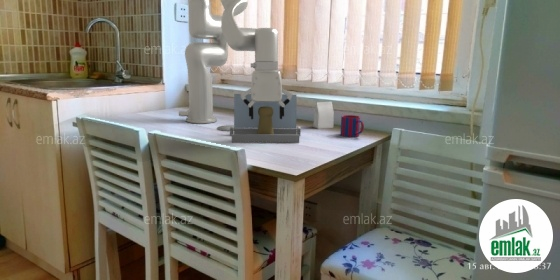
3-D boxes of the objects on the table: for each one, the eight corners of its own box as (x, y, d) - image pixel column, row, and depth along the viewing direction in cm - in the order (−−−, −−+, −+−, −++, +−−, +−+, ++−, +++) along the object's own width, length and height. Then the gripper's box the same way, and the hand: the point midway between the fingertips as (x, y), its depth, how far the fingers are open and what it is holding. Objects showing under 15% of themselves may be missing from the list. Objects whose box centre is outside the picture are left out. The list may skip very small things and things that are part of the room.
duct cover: (234, 127, 146) (234, 127, 147) (296, 128, 147) (296, 128, 148) (234, 93, 146) (234, 94, 147) (296, 94, 147) (296, 94, 148)
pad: (215, 131, 152) (215, 130, 152) (218, 125, 161) (218, 125, 161) (243, 131, 152) (243, 130, 152) (244, 126, 162) (244, 125, 162)
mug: (352, 132, 153) (353, 114, 152) (368, 138, 144) (369, 119, 143) (336, 134, 151) (337, 115, 149) (352, 139, 142) (353, 120, 140)
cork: (272, 141, 137) (272, 108, 135) (254, 140, 139) (254, 107, 136) (276, 137, 143) (276, 105, 141) (259, 136, 144) (259, 104, 142)
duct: (230, 134, 147) (230, 126, 146) (299, 134, 148) (300, 126, 147) (227, 142, 135) (227, 133, 134) (303, 142, 136) (303, 133, 135)
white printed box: (333, 127, 162) (334, 102, 160) (318, 128, 160) (319, 103, 157) (328, 126, 166) (329, 101, 163) (313, 127, 163) (314, 101, 161)
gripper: (239, 67, 131) (240, 120, 135) (293, 67, 132) (293, 120, 136) (240, 66, 139) (241, 117, 142) (291, 66, 140) (291, 116, 143)
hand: (266, 118), depth 139 cm, fingers open, 9 cm apart
